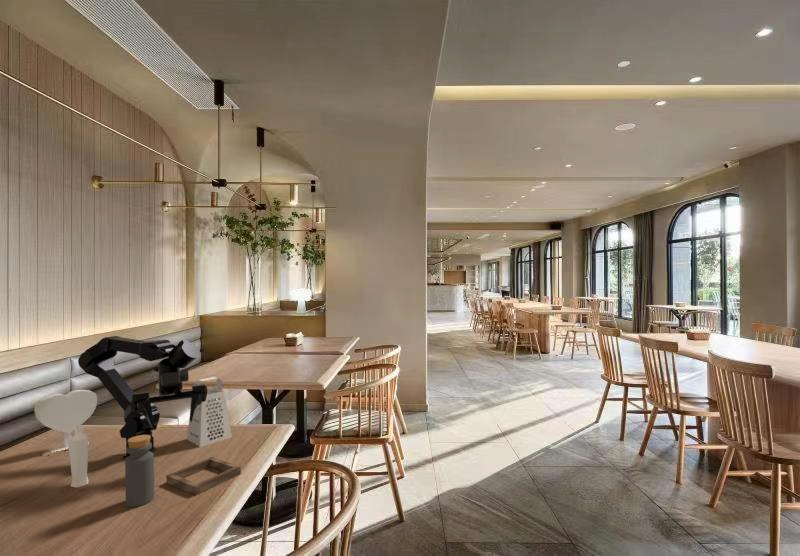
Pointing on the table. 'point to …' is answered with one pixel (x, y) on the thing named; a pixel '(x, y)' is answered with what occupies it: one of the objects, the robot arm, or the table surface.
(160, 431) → the table surface
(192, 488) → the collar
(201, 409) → the grater
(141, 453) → the bottle
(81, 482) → the perfume bottle
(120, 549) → the table surface
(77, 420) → the heart sculpture
